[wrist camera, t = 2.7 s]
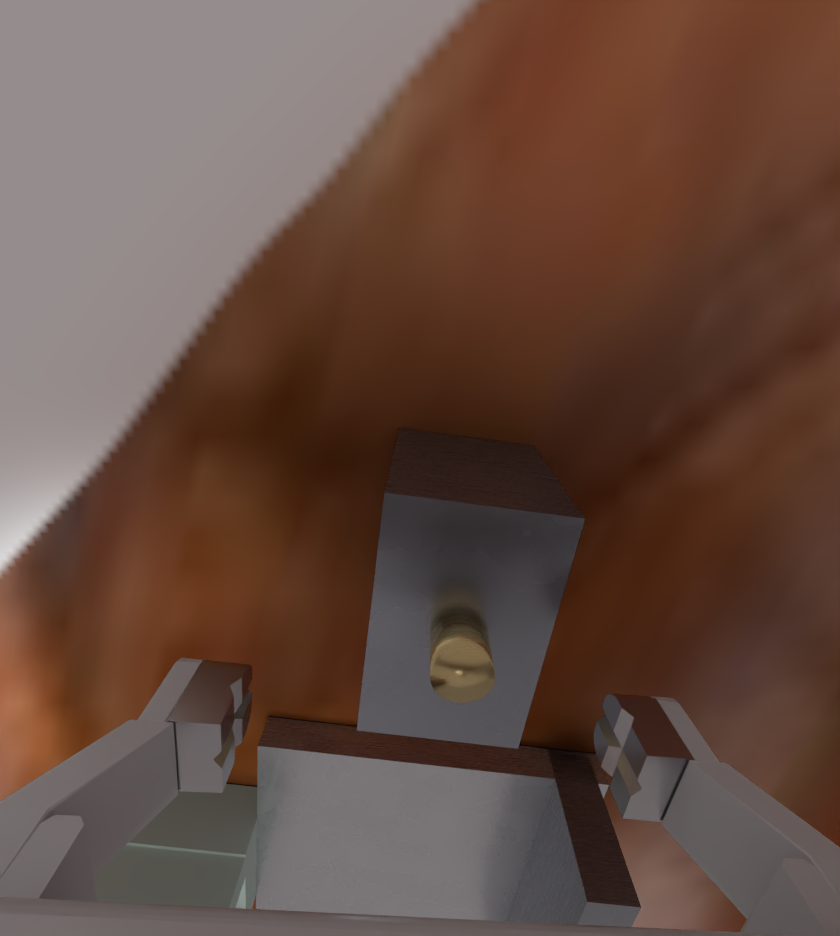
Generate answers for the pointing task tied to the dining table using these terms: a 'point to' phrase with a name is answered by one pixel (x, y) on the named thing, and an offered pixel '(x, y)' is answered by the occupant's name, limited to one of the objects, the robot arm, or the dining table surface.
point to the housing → (464, 588)
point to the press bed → (434, 829)
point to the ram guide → (190, 854)
